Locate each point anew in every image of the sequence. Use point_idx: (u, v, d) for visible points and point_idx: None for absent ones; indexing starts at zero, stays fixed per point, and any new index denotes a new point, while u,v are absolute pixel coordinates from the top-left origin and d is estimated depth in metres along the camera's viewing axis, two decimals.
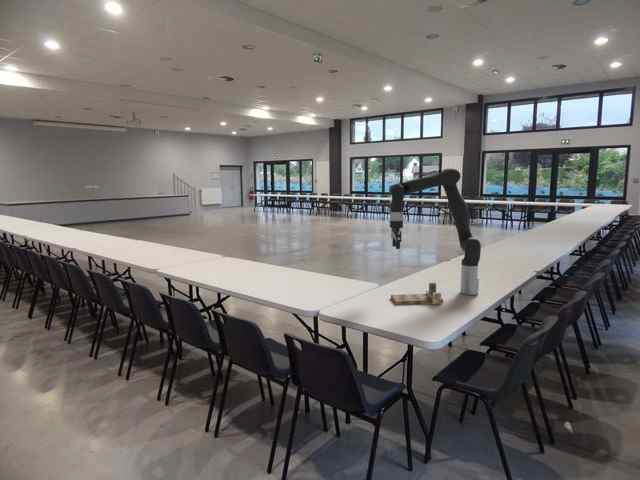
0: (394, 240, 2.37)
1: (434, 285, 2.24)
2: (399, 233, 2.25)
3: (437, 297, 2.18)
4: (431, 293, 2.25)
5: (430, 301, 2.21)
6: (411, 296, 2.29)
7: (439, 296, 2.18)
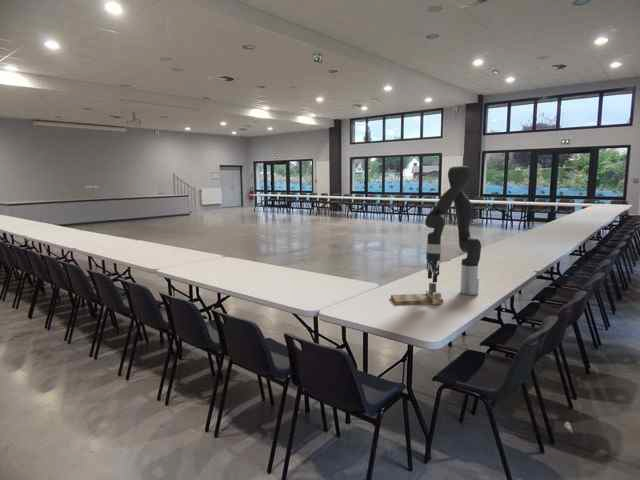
0: (430, 272, 2.29)
1: (434, 285, 2.24)
2: (437, 266, 2.17)
3: (437, 297, 2.18)
4: (431, 293, 2.25)
5: (430, 301, 2.21)
6: (411, 296, 2.29)
7: (439, 296, 2.18)
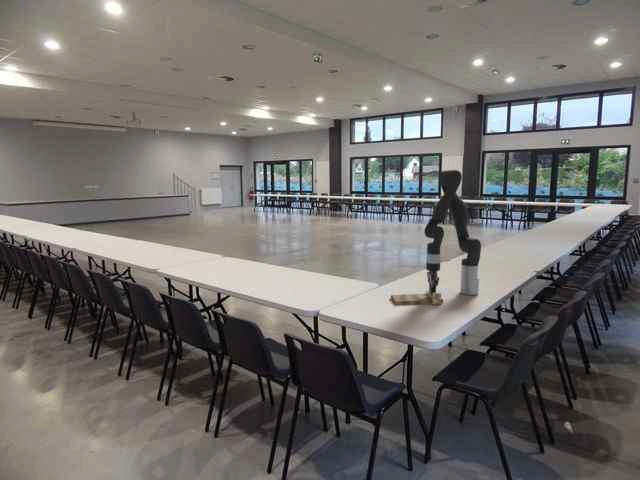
0: None
1: None
2: (436, 279, 2.19)
3: (437, 297, 2.18)
4: (431, 293, 2.25)
5: (430, 301, 2.21)
6: (411, 296, 2.29)
7: (439, 296, 2.18)
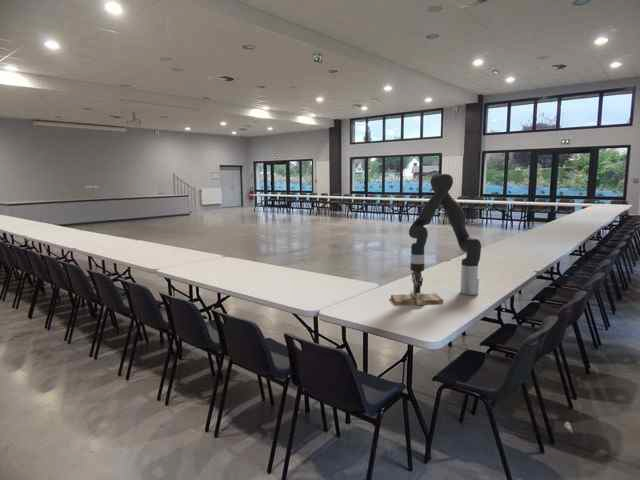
0: None
1: None
2: (420, 280, 2.19)
3: (421, 298, 2.18)
4: (415, 293, 2.25)
5: (430, 301, 2.21)
6: (411, 296, 2.29)
7: (423, 296, 2.18)
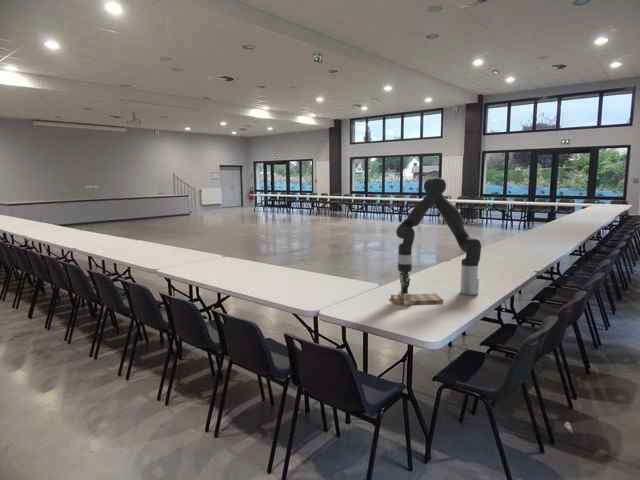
0: None
1: None
2: (407, 280, 2.18)
3: (408, 298, 2.17)
4: (403, 294, 2.24)
5: (430, 301, 2.21)
6: None
7: (410, 297, 2.17)
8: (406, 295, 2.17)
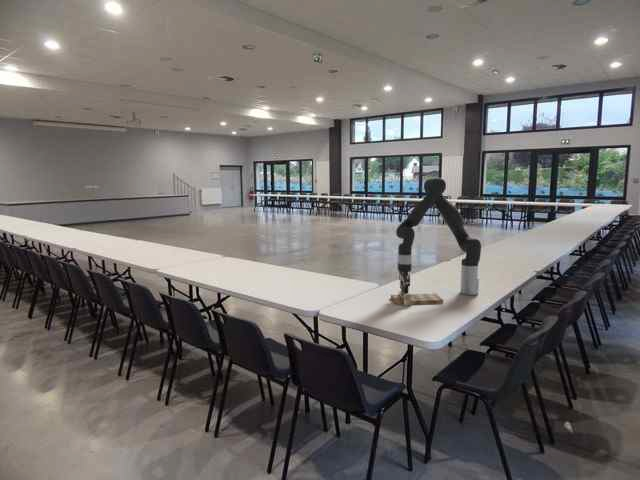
0: (402, 282, 2.29)
1: None
2: (408, 277, 2.17)
3: (408, 298, 2.17)
4: (403, 294, 2.24)
5: (430, 301, 2.21)
6: None
7: (410, 297, 2.17)
8: (406, 295, 2.17)
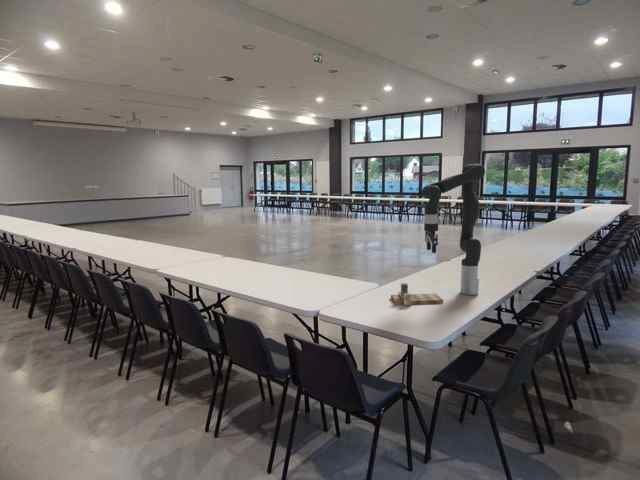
0: (428, 243, 2.28)
1: (406, 286, 2.24)
2: (435, 236, 2.16)
3: (408, 298, 2.17)
4: (403, 294, 2.24)
5: (430, 301, 2.21)
6: None
7: (410, 297, 2.17)
8: (406, 295, 2.17)
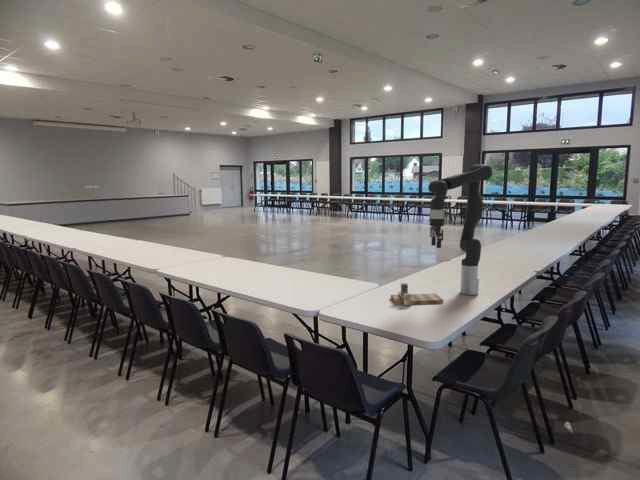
0: (433, 239, 2.28)
1: (406, 286, 2.24)
2: (441, 231, 2.17)
3: (408, 298, 2.17)
4: (403, 294, 2.24)
5: (430, 301, 2.21)
6: None
7: (410, 297, 2.17)
8: (406, 295, 2.17)
